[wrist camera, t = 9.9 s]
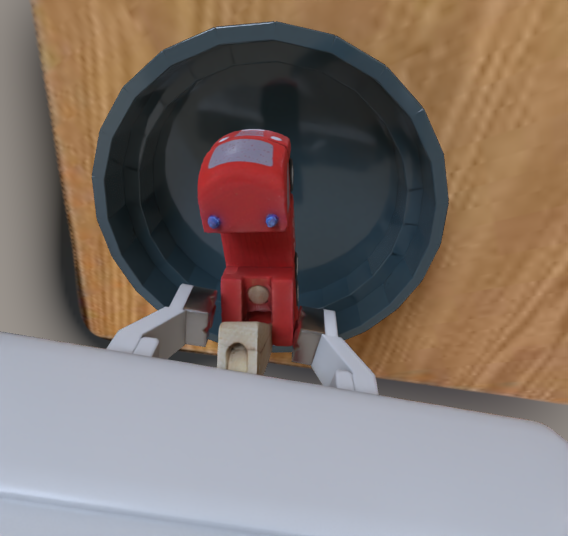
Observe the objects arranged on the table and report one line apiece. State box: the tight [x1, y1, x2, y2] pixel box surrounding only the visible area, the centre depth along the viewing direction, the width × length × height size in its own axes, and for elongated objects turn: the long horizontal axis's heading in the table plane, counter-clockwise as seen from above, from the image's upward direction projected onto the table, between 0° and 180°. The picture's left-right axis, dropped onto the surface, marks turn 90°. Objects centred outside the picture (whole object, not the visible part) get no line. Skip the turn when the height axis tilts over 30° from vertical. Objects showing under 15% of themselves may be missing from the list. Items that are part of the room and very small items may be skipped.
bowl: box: [92, 21, 449, 352], centre depth 23 cm, size 20×20×6 cm
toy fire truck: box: [197, 129, 299, 375], centre depth 14 cm, size 3×14×10 cm, turn 3°
